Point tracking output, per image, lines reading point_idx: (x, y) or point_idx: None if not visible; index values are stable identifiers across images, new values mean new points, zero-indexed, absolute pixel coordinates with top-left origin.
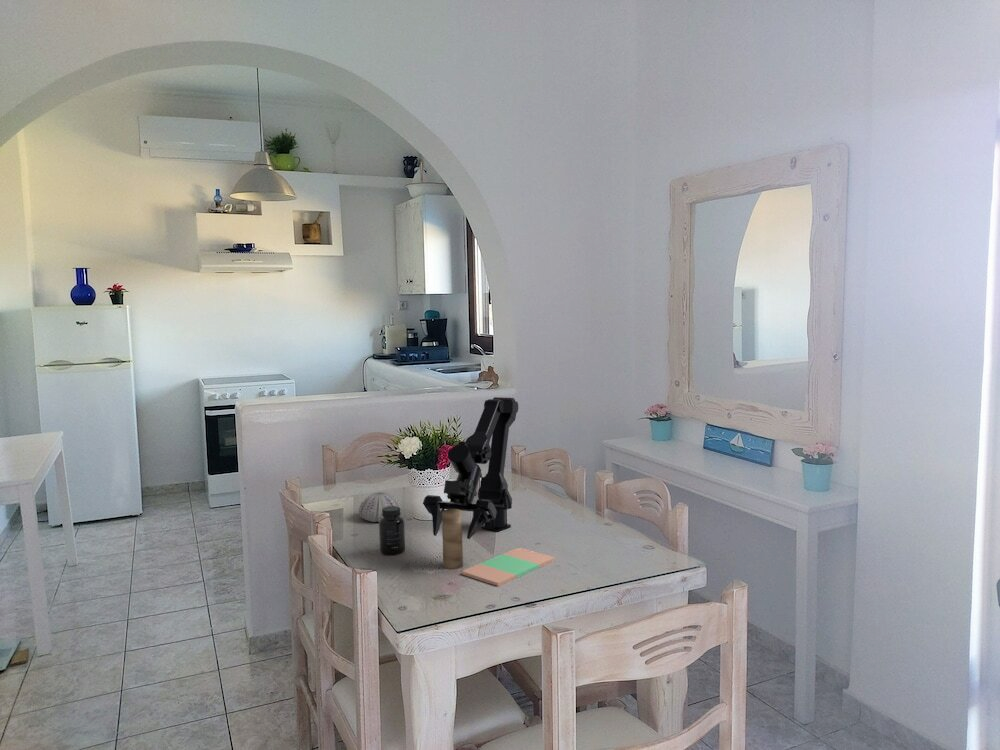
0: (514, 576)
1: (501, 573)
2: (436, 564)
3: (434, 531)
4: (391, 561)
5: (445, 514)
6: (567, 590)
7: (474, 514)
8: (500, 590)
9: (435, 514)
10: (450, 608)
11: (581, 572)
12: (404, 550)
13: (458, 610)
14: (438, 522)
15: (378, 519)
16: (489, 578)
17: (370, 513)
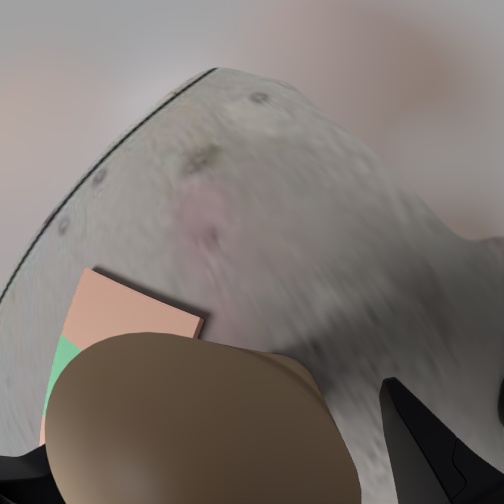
0: (64, 329)
1: (88, 335)
2: (346, 377)
3: (394, 389)
4: (492, 319)
5: (203, 343)
6: (9, 298)
7: (23, 472)
8: (85, 250)
9: (468, 491)
10: (166, 134)
11: (4, 389)
12: (499, 410)
13: (150, 136)
14: (411, 481)
15: None
16: (106, 287)
17: None
